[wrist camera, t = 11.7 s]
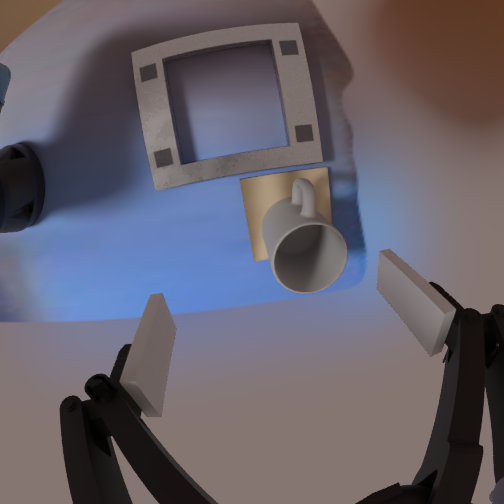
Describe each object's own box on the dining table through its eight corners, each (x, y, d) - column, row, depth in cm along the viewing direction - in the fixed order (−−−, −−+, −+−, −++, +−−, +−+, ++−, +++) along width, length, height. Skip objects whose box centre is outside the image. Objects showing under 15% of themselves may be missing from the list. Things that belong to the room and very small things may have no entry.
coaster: (253, 259, 40) (254, 261, 40) (239, 179, 36) (239, 179, 35) (331, 245, 40) (333, 247, 40) (326, 166, 36) (327, 167, 35)
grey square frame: (159, 188, 35) (155, 191, 33) (136, 56, 27) (131, 52, 25) (318, 160, 35) (323, 161, 33) (295, 27, 27) (298, 22, 25)
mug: (318, 253, 40) (343, 292, 30) (261, 255, 40) (270, 297, 30) (322, 172, 35) (356, 187, 25) (260, 171, 35) (271, 186, 25)
